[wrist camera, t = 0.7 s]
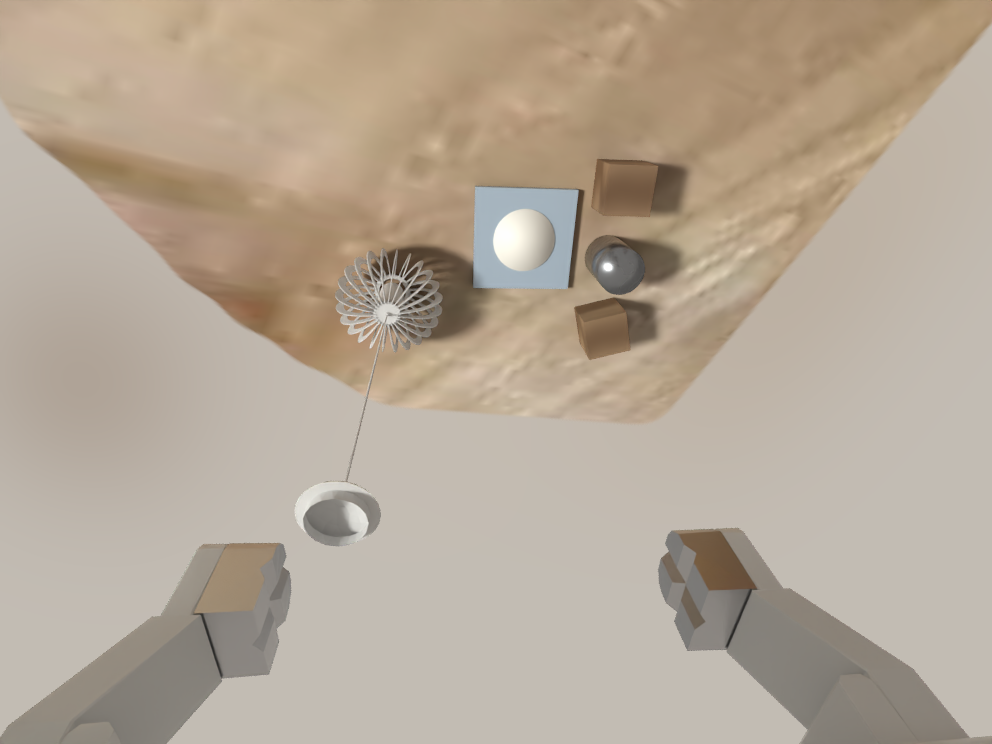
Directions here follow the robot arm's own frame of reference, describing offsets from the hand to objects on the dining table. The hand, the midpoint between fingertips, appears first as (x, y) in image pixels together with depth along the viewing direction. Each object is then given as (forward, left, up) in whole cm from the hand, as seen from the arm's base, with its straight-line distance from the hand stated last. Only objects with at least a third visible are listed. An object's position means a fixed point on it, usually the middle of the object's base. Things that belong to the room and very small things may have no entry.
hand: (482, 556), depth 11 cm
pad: (+3, +7, -39) cm, 40 cm away
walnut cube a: (-2, +15, -39) cm, 42 cm away
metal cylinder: (+4, +15, -39) cm, 42 cm away
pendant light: (+8, -5, -39) cm, 40 cm away
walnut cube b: (+11, +15, -39) cm, 43 cm away
